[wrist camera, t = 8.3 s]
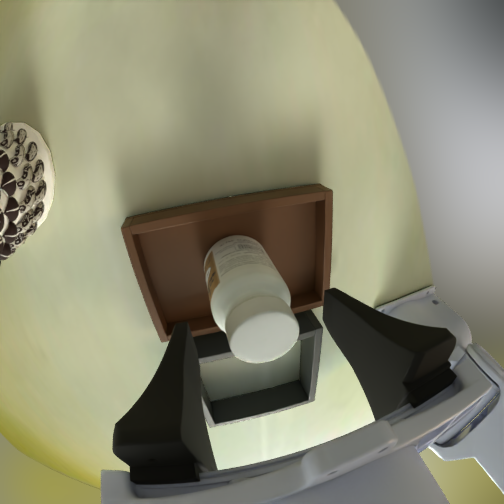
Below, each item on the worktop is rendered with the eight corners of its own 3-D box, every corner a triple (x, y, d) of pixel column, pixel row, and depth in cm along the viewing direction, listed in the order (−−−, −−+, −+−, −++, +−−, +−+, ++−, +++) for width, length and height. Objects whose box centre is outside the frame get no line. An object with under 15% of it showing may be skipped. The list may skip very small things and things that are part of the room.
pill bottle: (191, 252, 18) (201, 331, 11) (251, 222, 18) (294, 285, 11) (220, 298, 20) (243, 381, 14) (274, 272, 20) (318, 345, 14)
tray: (319, 183, 19) (333, 190, 17) (318, 291, 23) (328, 304, 21) (126, 217, 16) (120, 228, 15) (161, 326, 21) (161, 342, 19)
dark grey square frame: (308, 305, 23) (323, 327, 21) (304, 381, 28) (314, 401, 26) (176, 335, 21) (177, 362, 19) (205, 405, 27) (209, 427, 24)
